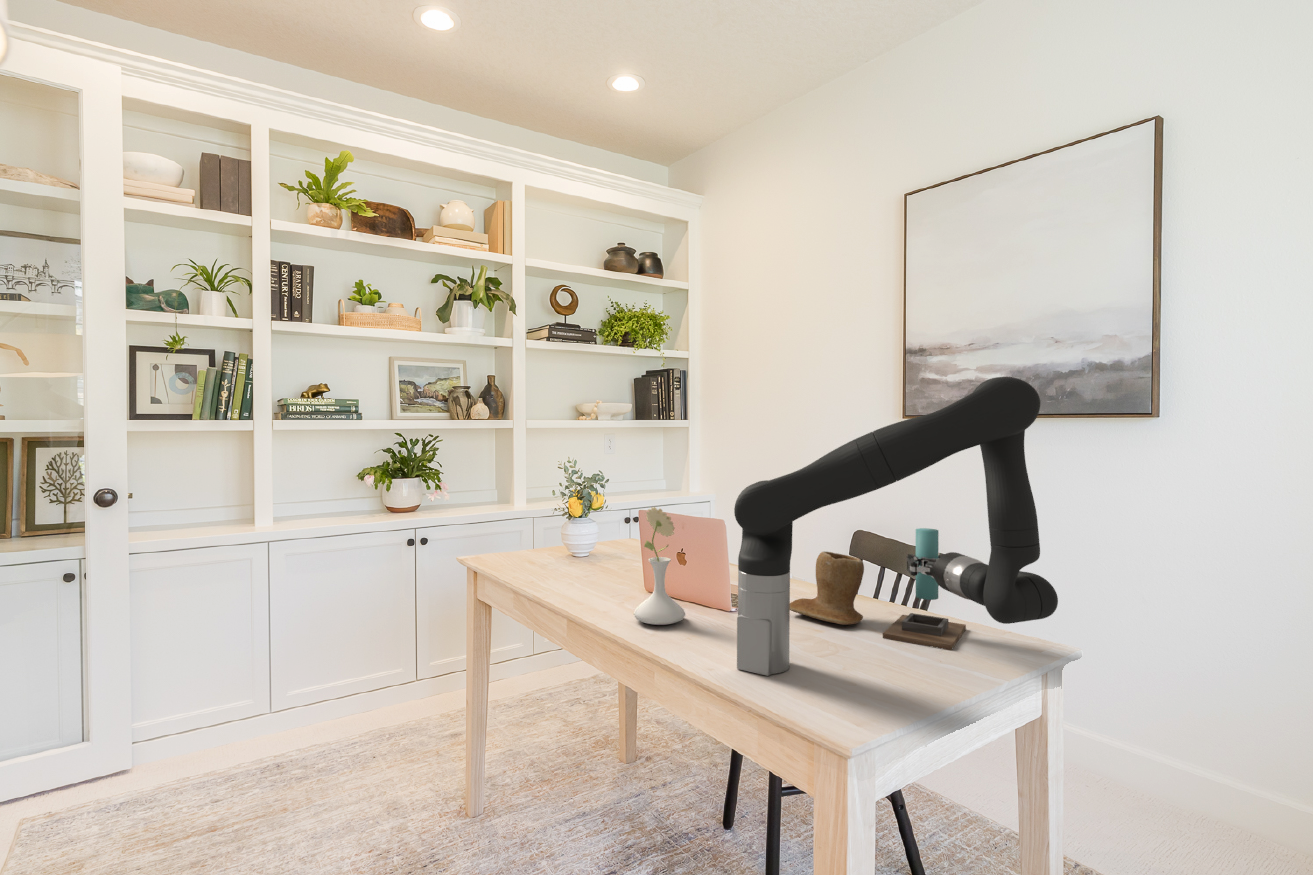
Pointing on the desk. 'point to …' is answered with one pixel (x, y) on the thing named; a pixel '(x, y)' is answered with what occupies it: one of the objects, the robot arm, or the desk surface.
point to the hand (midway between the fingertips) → (920, 558)
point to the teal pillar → (924, 548)
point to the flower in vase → (659, 579)
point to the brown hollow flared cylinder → (834, 590)
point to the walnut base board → (925, 631)
